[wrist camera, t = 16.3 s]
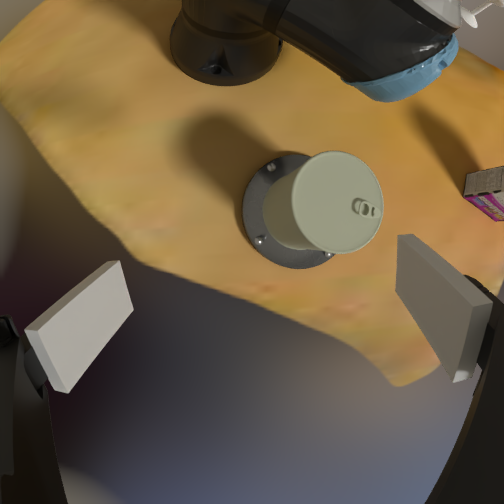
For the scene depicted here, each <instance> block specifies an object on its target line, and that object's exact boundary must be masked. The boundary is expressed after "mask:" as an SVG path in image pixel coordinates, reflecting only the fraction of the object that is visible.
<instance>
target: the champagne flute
mask: <svg viewBox="0 0 504 504" xmlns="http://www.w3.org/2000/svg"><path fill="white" fill-rule="evenodd" d="M493 3H494V4H496V5H498V6H501V7H504V0H488V1H486V2H485V3H484V4H482V5H481V6H479V7H478V8H476V9H475V10H473V11H472V12H471V11H469V10H467V9H465V8H464V7H461V6H460V8H461V16H462V17H463V18H464V20H465V21H466V22H467V23H468V24H469V25H471V26H472V27H474V28H477V22H476V19H475V15H476V14H477V13H479V12H481V11H482V10H484V9H485V8H486V7H488V6H490V5H491V4H493Z"/></svg>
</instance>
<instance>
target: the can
mask: <svg viewBox="0 0 504 504" xmlns="http://www.w3.org/2000/svg"><path fill="white" fill-rule="evenodd" d="M383 209H384V203H383V195H382V190H381V187H380V184H379V182H378V180H377V178H376V176H375V175H374V173H373V172H372V170H371V169H370V168H369V167H368V166H367V165H366V164H365V163H364V162H363V161H362V160H360V159H359V158H357V157H355V156H354V155H351V154H349V153H346V152H341V151H326V152H322V153H319V154H317V155H315V156H313V157H311V158H310V159H308V160H307V161H306V162H305V163H304V164H303V165H302V166H300V167H299V168H297V169H296V170H294V171H293V172H292V173H290V174H289V175H286V176H284V177H282V178H280V179H279V180H277V181H276V182H275V183H274V184H273V185H272V186H271V187H270V188H269V190H268V192H267V193H266V196H265V198H264V202H263V219H264V222H265V225H266V228H267V229H268V231H269V233H270V234H271V236H272V237H273V238H274V239H275V240H276V241H277V242H279V243H280V244H282V245H283V246H285V247H288V248H291V249H296V250H305V249H310V250H319V251H326V252H329V253H334V254H346V253H351V252H354V251H356V250H359V249H360V248H362V247H364V246H365V245H366V244H367V243H369V242H370V241H371V239H372V238H373V237H374V236H375V234H376V233H377V231H378V229H379V227H380V224H381V221H382V217H383Z"/></svg>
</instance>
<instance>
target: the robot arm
mask: <svg viewBox="0 0 504 504" xmlns="http://www.w3.org/2000/svg"><path fill="white" fill-rule="evenodd" d="M461 1H462V0H182V8H181V11H180V13H179V15H178V17H177V18H176V20H175V22H174V24H173V26H172V29H171V33H170V46H171V53H172V56H173V59H174V61H175V62H176V64H177V65H178V66H179V68H180V69H181V70H182V71H183V72H185V73H186V74H187V75H189V76H190V77H192V78H194V79H196V80H198V81H201V82H203V83H207V84H211V85H217V86H236V85H242V84H246V83H249V82H252V81H255V80H257V79H259V78H260V77H262V76H263V75H265V74H266V73H267V72H268V71H269V70H270V69H271V68H272V67H273V66H274V64H275V62H276V60H277V58H278V56H279V54H280V52H281V49H282V43H283V40H284V41H286V42H287V43H289V44H291V45H292V46H294V47H296V48H297V49H299V50H301V51H302V52H304V53H306V54H307V55H309V56H310V57H312V58H313V59H315V60H316V61H318V62H320V63H321V64H323V65H324V66H326V67H327V68H328V69H330V70H331V71H333V72H334V73H336V74H337V75H339V76H340V77H341V80H342V81H343V82H345V83H346V84H349V85H351V86H354V87H355V88H357V89H358V90H360V91H361V92H362V93H364V94H365V95H367V96H368V97H369V98H371V99H373V100H375V101H380V102H395V101H399V100H402V99H405V98H407V97H409V96H411V95H413V94H415V93H417V92H418V91H420V90H422V89H423V88H425V87H426V86H428V85H429V84H430V83H432V82H433V81H434V80H435V79H437V78H438V77H439V76H440V75H441V70H442V69H444V68H446V67H448V66H449V65H450V64H451V62H452V61H453V60H454V58H455V56H456V54H457V52H458V41H457V39H456V36H455V34H454V32H455V31H456V30H457V29H458V28H460V27H461V26H462V17H461V8H460V4H461ZM395 291H396V293H397V294H398V296H399V297H400V298H401V300H402V301H403V303H404V304H405V306H406V307H407V309H408V310H409V312H410V314H411V315H412V317H413V318H414V320H415V321H416V323H417V324H418V326H419V327H420V329H421V331H422V332H423V334H424V335H425V337H426V339H427V340H428V342H429V343H430V345H431V347H432V348H433V350H434V352H435V353H436V355H437V357H438V358H439V360H440V362H441V363H442V365H443V367H444V368H445V370H446V372H447V374H448V375H449V377H450V379H451V381H452V382H453V383H454V382H458V381H461V380H465V379H468V378H472V376H473V373H474V369H475V367H476V363H478V365H479V366H480V367H481V369H482V372H481V375H480V378H479V380H478V383H477V386H476V388H475V391H474V393H473V399H472V402H471V405H470V408H469V411H468V413H467V416H466V419H465V421H464V424H463V427H462V429H461V432H460V434H459V436H458V439H457V441H456V443H455V446H454V448H453V450H452V452H451V455H450V457H449V459H448V461H447V463H446V465H445V467H444V469H443V471H442V473H441V475H440V477H439V479H438V481H437V483H436V484H435V486H434V488H433V490H432V492H431V493H430V495H429V497H428V499H427V500H426V502H425V504H504V304H503V303H502V302H501V301H500V300H499V299H498V298H497V297H496V296H494V295H493V294H492V293H491V292H489V290H488V289H487V288H485V287H483V285H482V284H481V283H480V282H479V281H477V280H476V279H474V278H472V277H470V276H468V275H462V274H461V273H460V272H459V271H458V270H457V269H455V268H454V267H453V266H452V265H451V264H449V263H448V262H447V261H446V260H445V259H443V258H442V257H441V256H440V255H439V254H437V253H436V252H435V251H434V250H432V249H431V248H430V247H429V246H428V245H426V244H425V243H424V242H422V241H421V240H420V239H419V238H417V237H416V236H415V235H414V234H405V235H398V243H397V271H396V288H395ZM132 311H133V306H132V303H131V300H130V296H129V293H128V290H127V286H126V282H125V279H124V275H123V272H122V268H121V264H120V261H110V262H106V263H105V264H104V265H102V266H101V267H100V268H98V269H97V270H96V271H95V272H93V273H92V274H91V275H89V276H88V277H87V278H86V279H84V280H83V281H82V282H81V283H79V284H78V285H77V286H76V287H74V288H73V289H72V290H71V291H69V292H68V293H67V294H66V295H64V296H63V297H62V298H61V299H60V300H58V301H57V302H56V303H55V304H53V305H52V306H51V307H50V308H49V309H48V310H46V311H45V312H44V313H43V314H42V315H41V316H40V317H38V318H37V319H36V320H35V321H34V322H32V323H31V324H30V325H29V326H28V327H27V328H25V329H24V330H25V333H24V334H23V336H21V337H20V336H19V334H18V332H17V329H16V327H15V325H14V323H13V320H12V318H11V316H10V315H2V316H0V504H68V502H67V498H66V495H65V491H64V487H63V483H62V479H61V475H60V471H59V465H58V461H57V456H56V450H55V445H54V438H53V432H52V426H51V419H50V410H49V401H48V391H47V389H46V387H45V385H44V382H45V381H46V380H47V379H49V381H50V383H51V385H52V386H53V388H54V390H56V391H60V392H65V393H69V392H70V390H71V389H72V388H73V386H74V385H75V384H76V382H77V381H78V379H79V378H80V377H81V376H82V374H83V373H84V372H85V370H86V369H87V368H88V367H89V365H90V364H91V363H92V361H93V360H94V359H95V357H96V356H97V355H98V354H99V352H100V351H101V350H102V349H103V347H104V346H105V345H106V343H107V342H108V341H109V339H110V338H111V337H112V336H113V334H114V333H115V332H116V331H117V330H118V328H119V327H120V326H121V325H122V323H123V322H124V321H125V319H126V318H127V317H128V316H129V315H130V314H131V312H132Z"/></svg>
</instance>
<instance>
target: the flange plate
mask: <svg viewBox="0 0 504 504" xmlns="http://www.w3.org/2000/svg"><path fill="white" fill-rule="evenodd" d="M310 158H311V157H309V156H304V155H287V156H282V157H279V158H276V159H274V160H272V161H270V162H268V163H267V164H266V165H264V166H263V167H262V168H261V169H260V170H259V171H258V172H257V173H256V174H255V175H254V176H253V178H252V179H251V180H250V182H249V184H248V186H247V188H246V190H245V193H244V197H243V201H242V220H243V225H244V228H245V231H246V234H247V236H248V238H249V240H250V241H251V243H252V245H253V246H254V247H255V248H256V250H257V251H258V252H259V253H260V254H261V255H263V256H264V257H265V258H267V259H268V260H270V261H272V262H273V263H276V264H278V265H281V266H283V267H288V268H293V269H306V268H311V267H315V266H318V265H320V264H322V263H324V262H326V261H327V260H329V259H330V258H332V257H333V256H334V255H335V254H334V253H329V252H326V251H319V250H310V249H305V250H296V249H291V248H288V247H285V246H283V245H282V244H280V243H279V242H277V241H276V240H275V239H274V238H273V237H272V236H271V234H270V233H269V231H268V229H267V228H266V225H265V222H264V219H263V202H264V198H265V196H266V193H267V192H268V190H269V188H270V187H271V186H272V185H273V184H274V183H275V182H276V181H277V180H279V179H280V178H282V177H284V176H286V175H289V174H290V173H292V172H293V171H294V170H296V169H297V168H299V167H300V166H302V165H303V164H304V163H305V162H306V161H307V160H308V159H310Z"/></svg>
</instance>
